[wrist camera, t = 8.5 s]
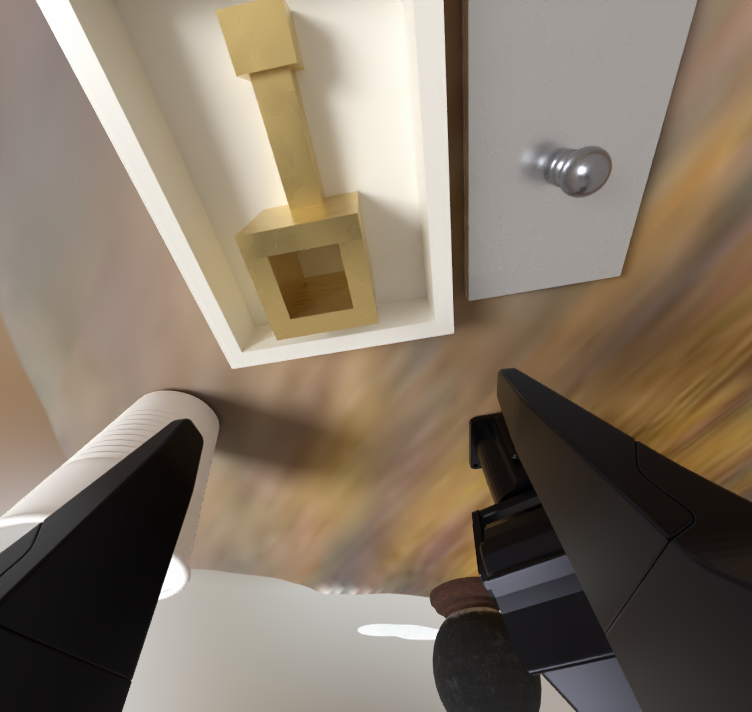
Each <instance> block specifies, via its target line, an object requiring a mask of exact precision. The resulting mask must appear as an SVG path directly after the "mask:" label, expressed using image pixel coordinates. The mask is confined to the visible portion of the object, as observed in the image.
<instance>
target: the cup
mask: <svg viewBox="0 0 752 712" xmlns="http://www.w3.org/2000/svg"><path fill="white" fill-rule="evenodd" d="M184 418H188V419H190V420H191V421H192V422H193V423H194V425H195V426H196V428H197V429H198V430H199V432H200V433H201V435H202V436H203V440H204V444H203V449H202V454H201V459H200V463H199V468H198V472H197V477H196V482H195V486H194V490H193V494H192V497H191V501H190V504H189V507H188V510H187V513H186V516H185V519H184V522H183V525H182V528H181V531H180V534H179V537H178V540H177V544H176V547H175V550H174V553H173V556H172V559H171V562H170V565H169V568H168V571H167V574H166V577H165V580H164V583H163V586H162V589H161V593H160V596H159V599H158V600H162V599H165V598H168V597H170V596H172V595H175V594H177V593H178V592H179V591H181V590H182V589H184V587H185V586H186V585H187V583H188V582H189V580H190V575H191V569H190V566H189V563H190V558H191V554H192V549H193V545H194V540H195V536H196V531H197V527H198V522H199V518H200V512H201V508H202V502H203V499H204V494H205V489H206V485H207V481H208V476H209V471H210V468H211V463H212V458H213V453H214V450H215V446H216V441H217V437H218V432H219V421H218V418H217V416H216V414H215V413H214V412H213V410H212V409H211V408H210V407H209V406H208V405H207V404H206V403H204V402H203V401H202V400H200V399H198V398H196V397H194V396H192V395H189V394H187V393H183V392H178V391H156V392H151V393H148V394H146V395H144V396H143V397H141V398H140V399H139V400H137V401H136V402H135V403H134V404H133V405H132V406H130V407H129V408H128V409H127V410H126V411H125V412H123V413H122V414H121V415H120V416H119V417H118V418H117V419H115V420H114V421H113V422H112V423H111V424H110V425H108V427H106V428H105V429H104V430H103V431H102V432H101V433H99V434H98V435H97V436H96V437H95V438H94V439H92V440H91V441H90V442H89V443H88V444H86V445H85V446H84V447H83V448H82V449H81V450H79V451H78V452H77V453H76V454H75V455H74V456H72V457H71V458H70V459H69V460H68V461H67V462H66V463H64V464H63V465H62V466H61V467H60V468H58V469H57V470H56V471H54V472H53V473H52V474H51V475H50V476H49V477H48V478H46V479H45V480H44V481H43V482H42V483H40V484H39V485H38V486H37V487H36V488H35V489H33V490H32V491H31V492H30V493H29V494H28V495H26V496H25V497H24V498H23V499H22V500H21V501H19V502H18V503H17V504H16V505H15V506H13V507H12V508H11V509H10V510H9V511H8V512H6V513H5V514H4V515H3V516H2V517H1V518H0V553H1V552H2V551H4V550H5V549H6V548H8V547H9V546H10V545H12V544H13V543H14V542H16V541H17V540H18V539H20V538H21V537H22V536H24V535H25V534H26V533H27V532H29V531H30V530H31V529H33V528H34V527H35V526H37V525H38V524H39V523H41V522H43V521H44V520H45V519H46V518H47V517H48V516H50V515H51V514H52V513H54V512H55V511H56V510H57V509H59V508H60V507H61V506H63V505H64V504H65V503H67V502H68V501H69V500H70V499H72V498H73V497H74V496H76V495H77V494H78V493H80V492H81V491H82V490H83V489H85V488H86V487H87V486H89V485H90V484H91V483H93V482H94V481H95V480H96V479H98V478H99V477H100V476H102V475H103V474H104V473H106V472H107V471H108V470H109V469H111V468H112V467H113V466H115V465H116V464H117V463H119V462H120V461H121V460H122V459H124V458H125V457H126V456H128V455H129V454H130V453H132V452H133V451H134V450H135V449H137V448H138V447H139V446H141V445H142V444H143V443H145V442H146V441H147V440H148V439H150V438H151V437H152V436H154V435H155V434H156V433H158V432H159V431H160V430H161V429H163V428H164V427H165V426H167V425H168V424H169V423H171V422H172V421H174V420H177V419H184Z"/></svg>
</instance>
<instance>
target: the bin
mask: <svg viewBox="0 0 752 712" xmlns="http://www.w3.org/2000/svg"><path fill="white" fill-rule="evenodd" d="M36 1H37V3H38V5H39V7H40V8H41V10H42V12H43V14H44V16H45V18H46V20H47V22H48V24H49V25H50V27H51V29H52V31H53V33H54V35H55V37H56V39H57V40H58V42H59V44H60V46H61V48H62V50H63V52H64V54H65V55H66V57H67V59H68V61H69V63H70V65H71V67H72V69H73V71H74V72H75V74H76V76H77V78H78V80H79V82H80V84H81V86H82V87H83V89H84V91H85V93H86V95H87V97H88V99H89V101H90V103H91V104H92V106H93V108H94V110H95V112H96V114H97V116H98V118H99V119H100V121H101V123H102V125H103V127H104V129H105V131H106V133H107V134H108V136H109V138H110V140H111V142H112V144H113V146H114V148H115V150H116V151H117V153H118V155H119V157H120V159H121V161H122V163H123V165H124V166H125V168H126V170H127V172H128V174H129V176H130V178H131V180H132V182H133V183H134V185H135V187H136V189H137V191H138V193H139V195H140V197H141V198H142V200H143V202H144V204H145V206H146V208H147V210H148V212H149V214H150V215H151V217H152V219H153V221H154V223H155V225H156V227H157V229H158V230H159V232H160V234H161V236H162V238H163V240H164V242H165V244H166V245H167V247H168V249H169V251H170V253H171V255H172V257H173V259H174V261H175V262H176V264H177V266H178V268H179V270H180V272H181V274H182V276H183V277H184V279H185V281H186V283H187V285H188V287H189V289H190V291H191V293H192V294H193V296H194V298H195V300H196V302H197V304H198V306H199V308H200V309H201V311H202V313H203V315H204V317H205V319H206V321H207V323H208V324H209V326H210V328H211V330H212V332H213V334H214V336H215V338H216V340H217V341H218V343H219V345H220V347H221V349H222V351H223V353H224V355H225V356H226V358H227V360H228V362H229V364H230V366H231V368H232V369H235V368H242V367H248V366H254V365H260V364H266V363H273V362H279V361H285V360H291V359H298V358H304V357H310V356H316V355H322V354H329V353H335V352H341V351H347V350H353V349H360V348H366V347H372V346H378V345H385V344H391V343H397V342H403V341H409V340H416V339H422V338H428V337H434V336H440V335H447V334H453V333H454V316H453V285H452V253H451V222H450V190H449V159H448V127H447V96H446V64H445V33H444V1H443V0H285V1H286V3H287V4H288V6H289V8H290V9H291V12H292V17H293V21H294V25H295V30H296V34H297V39H298V43H299V48H300V52H301V56H302V61H303V65H304V70H299V71H295V72H296V76H297V80H298V85H299V89H300V93H301V97H302V101H303V106H304V110H305V114H306V118H307V122H308V127H309V131H310V135H311V139H312V143H313V147H314V152H315V156H316V160H317V164H318V168H319V173H320V177H321V181H322V185H323V189H324V193H325V197H329V196H334V195H339V194H344V193H349V192H354V191H358V195H359V200H360V205H361V211H362V216H363V222H364V227H365V233H366V238H367V243H368V249H369V254H370V260H371V265H372V270H373V276H374V281H375V291H376V302H377V312H378V322H379V323H377V324H372V325H366V326H360V327H354V328H348V329H342V330H336V331H330V332H325V333H319V334H313V335H307V336H301V337H295V338H289V339H284V340H278V341H277V339H276V337H275V334H274V332H273V330H272V327H271V325H270V322H269V320H268V317H267V315H266V313H265V310H264V308H263V305H262V303H261V301H260V298H259V296H258V293H257V291H256V288H255V286H254V284H253V281H252V279H251V276H250V274H249V271H248V269H247V267H246V264H245V262H244V259H243V257H242V255H241V252H240V250H239V247H238V245H237V242H236V240H235V238H234V237H235V236H236V235H237V234H238V233H239V232H240V231H241V230H242V229H243V228H244V227H245V226H246V225H247V224H248V223H250V222H251V221H252V220H253V219H254V218H255V217H256V216H257V215H258V214H259V213H260V212H261V211H262V210H264V209H268V208H273V207H278V206H283V205H288V202H287V198H286V195H285V192H284V188H283V185H282V182H281V178H280V175H279V172H278V169H277V165H276V162H275V159H274V155H273V152H272V149H271V145H270V142H269V139H268V135H267V132H266V129H265V126H264V122H263V119H262V116H261V112H260V109H259V106H258V102H257V99H256V96H255V92H254V89H253V86H252V83H251V81H248V80H245V79H242V78H240V77H237V76H236V73H235V70H234V67H233V64H232V61H231V58H230V55H229V52H228V49H227V45H226V42H225V39H224V36H223V33H222V30H221V27H220V24H219V20H218V17H217V14H216V11H215V10H219V9H223V8H227V7H231V6H236V5H240V4H244V3H248V2H252V1H256V0H36ZM297 255H298V258H299V261H300V264H301V267H302V271H303V274H304V277H305V278H307V277H312V276H318V275H323V274H329V273H334V272H340V271H345V270H344V265H343V261H342V257H341V253H340V248H339V244H332V245H327V246H322V247H316V248H311V249H306V250H300V251H297Z"/></svg>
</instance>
